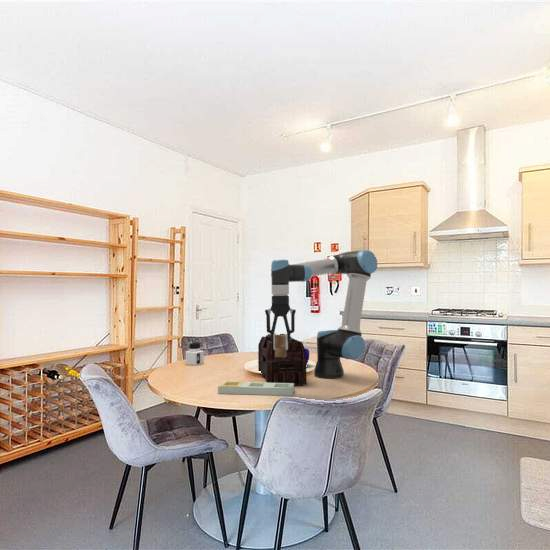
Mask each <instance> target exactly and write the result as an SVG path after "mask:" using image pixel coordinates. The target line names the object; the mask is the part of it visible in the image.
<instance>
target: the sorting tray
mask: <svg viewBox="0 0 550 550" xmlns="http://www.w3.org/2000/svg"><path fill="white" fill-rule="evenodd" d="M294 391H295V386H294V383H267V382H262V381H261V382H255V381H254V382H253V381H238V380H237V381H236V380H235V381H234V380H225V381H222V382H221V383H220V384H219V385H218V386H217V394H219V395H220V394H227V395H261V396H262V395H263V396H290V397H291V396H293V394H294V393H295V392H294Z"/></svg>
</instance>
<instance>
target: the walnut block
mask: <svg viewBox="0 0 550 550" xmlns="http://www.w3.org/2000/svg"><path fill="white" fill-rule="evenodd" d="M286 356H287V350H286V336H285V335H280V334H276V335H275V357H286Z"/></svg>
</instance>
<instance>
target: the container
mask: <svg viewBox="0 0 550 550" xmlns="http://www.w3.org/2000/svg"><path fill="white" fill-rule="evenodd" d="M204 357H205V356H204V350H201V343H200V342H198V341H191V342H189V344H188V350H186V351H185V365H188V366H194V365H195V366H199V365H203V364H204V362H205V360H204Z"/></svg>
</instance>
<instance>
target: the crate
mask: <svg viewBox="0 0 550 550" xmlns="http://www.w3.org/2000/svg"><path fill="white" fill-rule="evenodd" d="M285 334H286V333H280V334H279V335H285ZM302 342H303V341H300V340H298V339H295V338H293V337H292V336H291V335H290V342H288V350H287V356H286V357H275V350H274V341H271V334H270V333H267V335H265V336H261V338H260V340H259V343H258V345H257V346H258V350H257V351H258V352H257V360H258V361H257V363H258V367H257V369H258V371H261V373H262V374H260V375H261V377H262V378H263V379H265V383H294V387H304V385H306V384H307V368H306V350H305V346H304V343H302Z"/></svg>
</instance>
